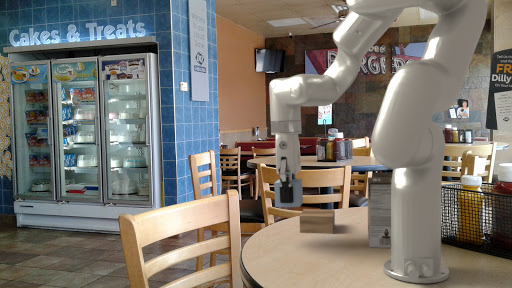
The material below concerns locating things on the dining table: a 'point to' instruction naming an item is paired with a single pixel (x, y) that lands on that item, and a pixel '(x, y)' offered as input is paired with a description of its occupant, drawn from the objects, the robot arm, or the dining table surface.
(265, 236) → the dining table surface
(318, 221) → the walnut block
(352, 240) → the dining table surface
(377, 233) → the coffee box
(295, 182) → the slate cube
